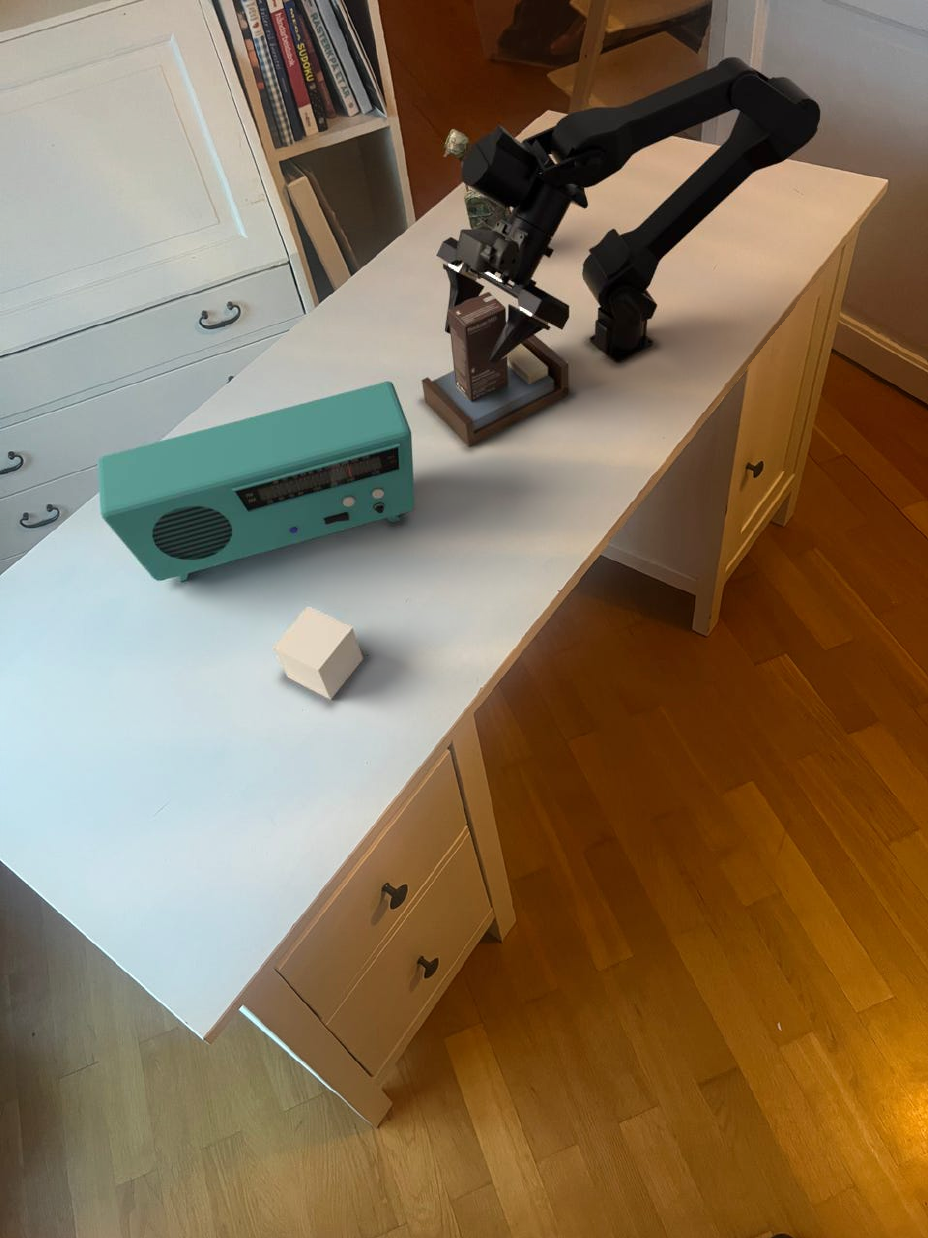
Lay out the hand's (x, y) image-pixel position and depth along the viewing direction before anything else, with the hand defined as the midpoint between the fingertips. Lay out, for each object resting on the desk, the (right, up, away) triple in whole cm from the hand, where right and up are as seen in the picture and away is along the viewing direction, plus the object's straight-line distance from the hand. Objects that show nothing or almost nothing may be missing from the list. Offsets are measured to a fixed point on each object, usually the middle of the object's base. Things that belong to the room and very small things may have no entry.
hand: (469, 347), depth 110 cm
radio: (-22, -24, -1) cm, 33 cm away
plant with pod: (+3, +23, +29) cm, 37 cm away
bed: (+4, -4, +9) cm, 11 cm away
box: (+2, -3, +6) cm, 7 cm away
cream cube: (-16, -39, -13) cm, 44 cm away
